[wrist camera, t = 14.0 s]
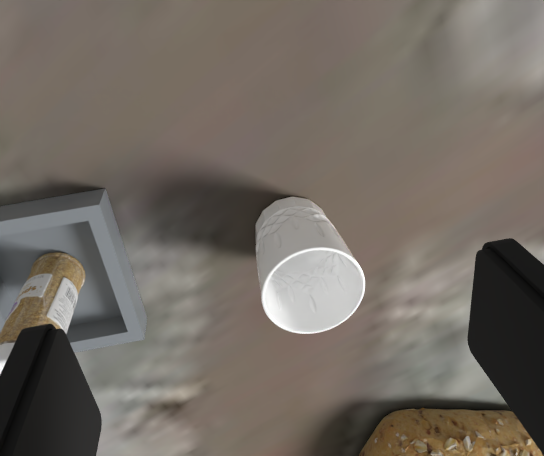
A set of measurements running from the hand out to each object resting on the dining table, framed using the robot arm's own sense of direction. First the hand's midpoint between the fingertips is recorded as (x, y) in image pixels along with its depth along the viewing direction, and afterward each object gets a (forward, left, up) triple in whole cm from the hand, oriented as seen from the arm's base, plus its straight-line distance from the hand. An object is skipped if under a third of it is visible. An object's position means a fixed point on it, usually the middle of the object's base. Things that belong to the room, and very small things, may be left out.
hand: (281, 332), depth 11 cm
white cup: (+15, +4, -31) cm, 34 cm away
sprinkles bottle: (+15, -17, -30) cm, 37 cm away
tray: (+15, -17, -30) cm, 38 cm away
